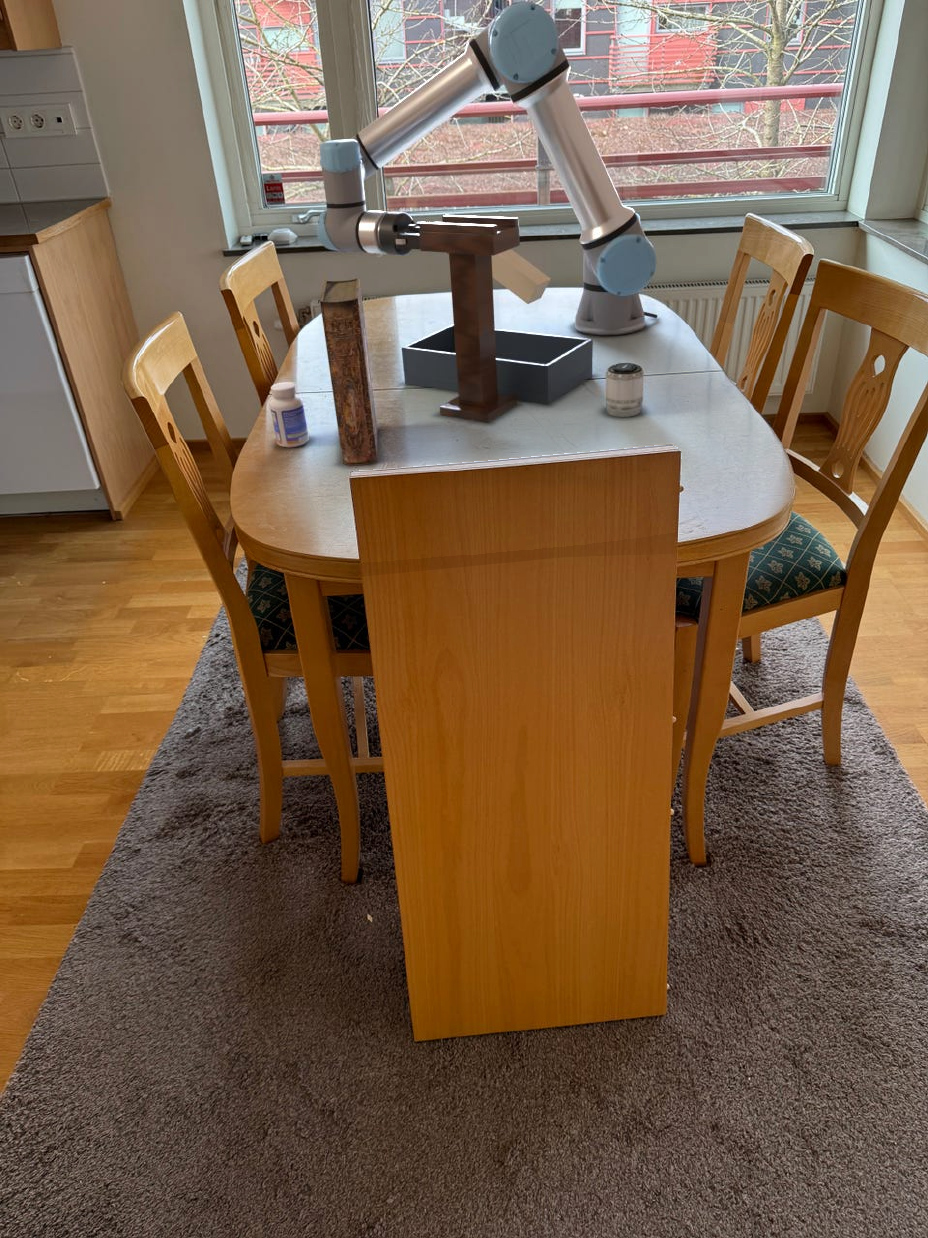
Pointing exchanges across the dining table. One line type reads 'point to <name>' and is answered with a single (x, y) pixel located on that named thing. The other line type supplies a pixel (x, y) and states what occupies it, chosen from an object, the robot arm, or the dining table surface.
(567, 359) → the bin
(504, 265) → the carton
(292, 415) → the pill bottle
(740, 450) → the dining table surface
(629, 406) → the camera lens
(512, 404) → the stand
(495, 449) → the dining table surface
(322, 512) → the dining table surface
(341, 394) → the book
